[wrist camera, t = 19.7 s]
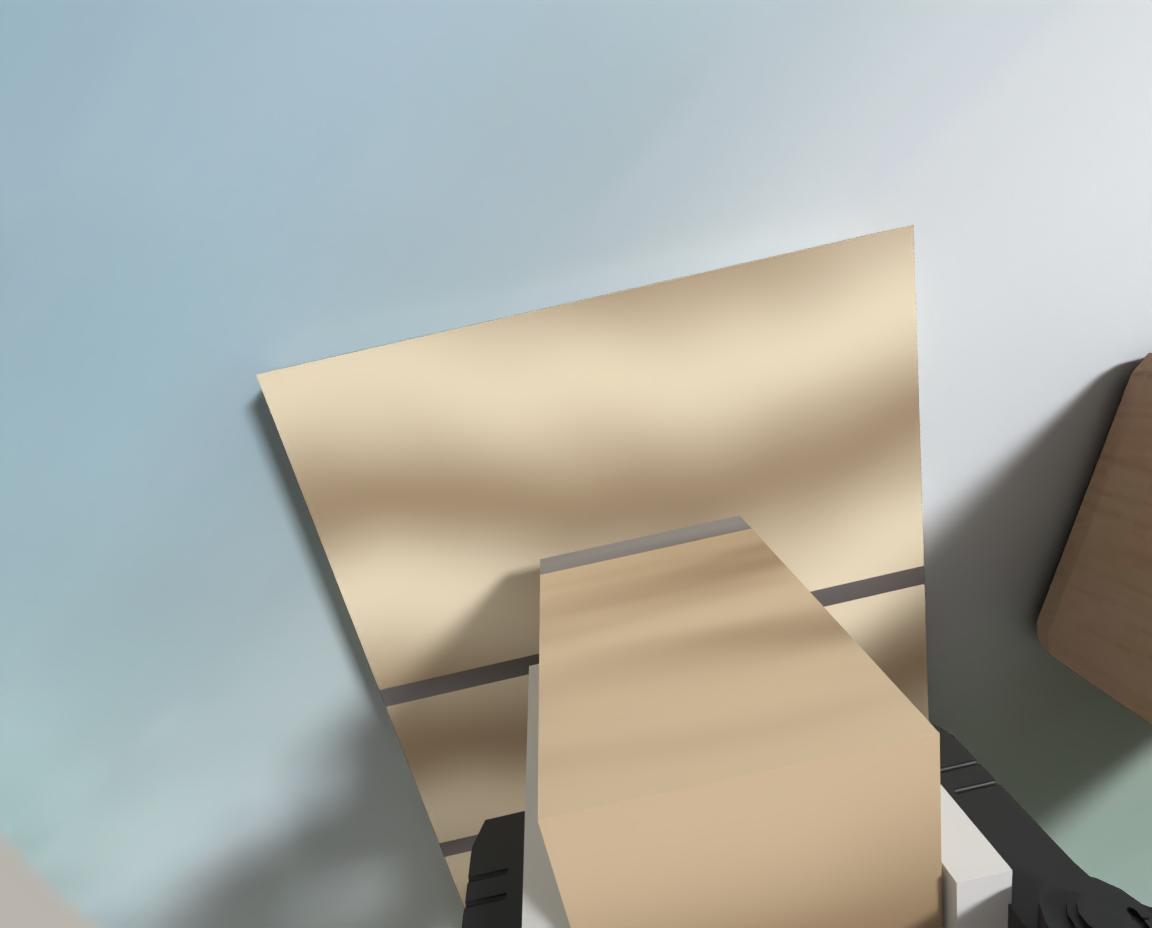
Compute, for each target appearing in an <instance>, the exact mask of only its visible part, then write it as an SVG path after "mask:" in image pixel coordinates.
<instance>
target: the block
mask: <svg viewBox="0 0 1152 928" xmlns="http://www.w3.org/2000/svg"><path fill="white" fill-rule="evenodd" d="M1037 634H1038V641H1039V642H1040V643H1041V645H1042V646H1043V647H1044V649H1045V650H1046V651H1047V652H1048V654H1049V655H1051V656H1052V657H1054V658H1055V659H1057V660H1058V661H1059V662H1061V663H1062V664H1064V665H1065V666H1067V667H1068V668H1070V669H1071V670H1073V671H1074V672H1075V673H1077V674H1078V675H1080V676H1081V677H1083V678H1084V679H1086V680H1087V681H1089V682H1090V683H1091V684H1093V685H1094V686H1096V687H1097V688H1099V689H1100V690H1102V691H1103V692H1105V693H1106V694H1107V695H1109V696H1110V697H1112V698H1113V699H1115V700H1116V701H1118V702H1119V703H1121V704H1122V705H1123V706H1125V707H1126V708H1128V709H1129V710H1131V711H1132V712H1134V713H1135V714H1137V715H1138V716H1139V717H1141V718H1142V719H1144V720H1145V721H1147V722H1148V723H1150V724H1151V725H1152V353H1148V354H1147V356H1146V357H1145V358H1144V359H1143V360H1142V361H1141V363H1140V364H1139V365H1138V366H1137V367H1136V368H1135V370H1134V371H1133V372H1132V373H1131V375H1130V378H1129V381H1128V383H1127V386H1126V389H1125V391H1124V394H1123V396H1122V399H1121V402H1120V404H1119V407H1118V410H1117V412H1116V415H1115V417H1114V420H1113V423H1112V425H1111V428H1110V431H1109V433H1108V436H1107V438H1106V441H1105V444H1104V446H1103V449H1102V452H1101V454H1100V457H1099V459H1098V462H1097V465H1096V467H1095V470H1094V473H1093V475H1092V478H1091V480H1090V483H1089V486H1088V488H1087V491H1086V494H1085V496H1084V499H1083V501H1082V504H1081V507H1080V509H1079V512H1078V515H1077V517H1076V520H1075V522H1074V525H1073V528H1072V530H1071V533H1070V536H1069V538H1068V541H1067V543H1066V546H1065V549H1064V551H1063V554H1062V557H1061V559H1060V562H1059V564H1058V567H1057V570H1056V572H1055V575H1054V578H1053V580H1052V583H1051V585H1050V588H1049V591H1048V593H1047V596H1046V599H1045V601H1044V604H1043V606H1042V609H1041V612H1040V614H1039V617H1038V620H1037Z"/></svg>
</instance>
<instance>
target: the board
mask: <svg viewBox="0 0 1152 928" xmlns="http://www.w3.org/2000/svg"><path fill="white" fill-rule="evenodd" d="M256 376H257V378H258V381H259V383H260V386H261V389H262V391H263V394H264V396H265V399H266V401H267V404H268V406H269V409H270V412H271V414H272V417H273V419H274V422H275V424H276V427H277V430H278V432H279V435H280V437H281V440H282V442H283V445H284V447H285V450H286V453H287V455H288V458H289V460H290V463H291V465H292V468H293V470H294V473H295V476H296V478H297V481H298V483H299V486H300V488H301V491H302V493H303V496H304V499H305V501H306V504H307V506H308V509H309V511H310V514H311V517H312V519H313V522H314V524H315V527H316V529H317V532H318V534H319V537H320V540H321V542H322V545H323V547H324V550H325V552H326V555H327V557H328V560H329V563H330V565H331V568H332V570H333V573H334V575H335V578H336V581H337V583H338V586H339V588H340V591H341V593H342V596H343V598H344V601H345V604H346V606H347V609H348V611H349V614H350V616H351V619H352V621H353V624H354V627H355V629H356V632H357V634H358V637H359V639H360V642H361V645H362V647H363V650H364V652H365V655H366V657H367V660H368V662H369V665H370V668H371V670H372V673H373V675H374V678H375V680H376V683H377V685H378V688H379V691H380V693H381V696H382V698H383V701H384V703H385V706H386V709H387V711H388V714H389V716H390V719H391V721H392V724H393V726H394V729H395V732H396V734H397V737H398V739H399V742H400V744H401V747H402V749H403V752H404V755H405V757H406V760H407V762H408V765H409V767H410V770H411V773H412V775H413V778H414V780H415V783H416V785H417V788H418V790H419V793H420V796H421V798H422V801H423V803H424V806H425V808H426V811H427V813H428V816H429V819H430V821H431V824H432V826H433V829H434V831H435V834H436V837H437V839H438V842H439V844H440V847H441V849H442V852H443V854H444V857H445V860H446V862H447V865H448V867H449V870H450V872H451V875H452V877H453V880H454V883H455V885H456V888H457V890H458V893H459V895H460V898H461V901H462V903H463V906H464V908H465V907H466V905H465V898H466V890H467V883H468V882H469V879H468V874H469V866H470V858H471V850H472V846H473V844H474V842H475V840H476V838H477V836H478V834H479V832H480V830H481V827H482V825H483V823H484V821H485V820H487V819H491V818H496V817H500V816H504V815H509V814H513V813H518V812H522V811H525V795H526V759H527V723H528V686H529V666H531V665H536V664H539V630H540V559H544V558H548V557H553V556H557V555H562V554H566V553H571V552H575V551H580V550H585V549H589V548H594V547H598V546H603V545H607V544H612V543H616V542H621V541H625V540H630V539H635V538H639V537H644V536H648V535H653V534H657V533H662V532H666V531H671V530H676V529H680V528H685V527H689V526H694V525H698V524H703V523H707V522H712V521H716V520H721V519H726V518H730V517H735V516H739V515H740V516H741V517H742V518H743V519H744V520H745V522H746V523H747V524H748V525H749V526H750V527H751V528H752V529H753V530H754V531H755V532H756V534H757V535H758V536H759V537H760V538H761V539H762V540H763V541H764V542H765V543H766V544H767V546H768V547H769V548H770V549H771V550H772V551H773V552H774V553H775V554H776V555H777V556H778V558H779V559H780V560H781V561H782V562H783V563H784V564H785V565H786V566H787V567H788V568H789V570H790V571H791V572H792V573H793V574H794V575H795V576H796V577H797V578H798V579H799V580H800V582H801V583H802V584H803V585H804V586H805V587H806V588H807V589H808V590H809V591H810V592H811V594H812V595H813V596H814V597H815V598H816V599H817V600H818V601H819V602H820V603H821V604H822V606H823V607H824V608H825V609H826V610H827V611H828V612H829V613H830V614H831V615H832V616H833V618H834V619H835V620H836V621H837V622H838V623H839V624H840V625H841V626H842V627H843V628H844V630H845V631H846V632H847V633H848V634H849V635H850V636H851V637H852V638H853V639H854V640H855V642H856V643H857V644H858V645H859V646H860V647H861V648H862V649H863V650H864V651H865V652H866V654H867V655H868V656H869V657H870V658H871V659H872V660H873V661H874V662H875V663H876V664H877V666H878V667H879V668H880V669H881V670H882V671H883V672H884V673H885V674H886V675H887V676H888V678H889V679H890V680H891V681H892V682H893V683H894V684H895V685H896V686H897V687H898V688H899V689H900V691H901V692H902V693H903V694H904V695H905V696H906V697H907V698H908V699H909V700H910V701H911V703H912V704H913V705H914V706H915V707H916V708H917V709H918V710H919V711H920V712H921V713H922V715H923V716H924V717H925V718H926V719H927V720H928V721H929V710H928V678H927V646H926V614H925V581H924V549H923V517H922V485H921V452H920V420H919V388H918V356H917V324H916V291H915V259H914V227H913V225H911V226H907V227H902V228H897V229H892V230H888V231H883V232H878V233H874V234H870V235H865V236H861V237H856V238H852V239H848V240H843V241H839V242H835V243H830V244H826V245H821V246H817V247H813V248H808V249H804V250H799V251H795V252H791V253H786V254H782V255H778V256H773V257H769V258H764V259H760V260H756V261H751V262H747V263H742V264H738V265H734V266H729V267H725V268H720V269H716V270H712V271H707V272H703V273H699V274H694V275H690V276H685V277H681V278H677V279H672V280H668V281H663V282H659V283H655V284H650V285H646V286H642V287H637V288H633V289H628V290H624V291H620V292H615V293H611V294H606V295H602V296H598V297H593V298H589V299H584V300H580V301H576V302H571V303H567V304H563V305H558V306H554V307H549V308H545V309H541V310H536V311H532V312H527V313H523V314H519V315H514V316H510V317H505V318H501V319H497V320H492V321H488V322H484V323H479V324H475V325H470V326H466V327H462V328H457V329H453V330H448V331H444V332H440V333H435V334H431V335H427V336H422V337H418V338H413V339H409V340H405V341H400V342H396V343H391V344H387V345H383V346H378V347H374V348H369V349H365V350H361V351H356V352H352V353H348V354H343V355H339V356H334V357H330V358H326V359H321V360H317V361H312V362H308V363H304V364H299V365H295V366H291V367H286V368H282V369H278V370H274V371H270V372H266V373H262V374H258V375H256Z"/></svg>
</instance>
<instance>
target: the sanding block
mask: <svg viewBox="0 0 1152 928" xmlns="http://www.w3.org/2000/svg"><path fill="white" fill-rule="evenodd" d="M538 824H539V827H540V830H541V833H542V836H543V840H544V843H545V846H546V849H547V853H548V856H549V859H550V862H551V866H552V869H553V872H554V875H555V879H556V882H557V885H558V888H559V892H560V895H561V898H562V901H563V905H564V908H565V911H566V914H567V918H568V921H569V924H570V927H571V928H942V863H941V792H940V733H939V732H938V731H937V730H936V729H935V728H934V727H933V725H932V724H931V723H930V722H929V721H928V720H927V719H926V718H925V717H924V716H923V715H922V713H921V712H920V711H919V710H918V709H917V708H916V707H915V706H914V705H913V704H912V703H911V701H910V700H909V699H908V698H907V697H906V696H905V695H904V694H903V693H902V692H901V691H900V689H899V688H898V687H897V686H896V685H895V684H894V683H893V682H892V681H891V680H890V679H889V678H888V676H887V675H886V674H885V673H884V672H883V671H882V670H881V669H880V668H879V667H878V666H877V664H876V663H875V662H874V661H873V660H872V659H871V658H870V657H869V656H868V655H867V654H866V652H865V651H864V650H863V649H862V648H861V647H860V646H859V645H858V644H857V643H856V642H855V640H854V639H853V638H852V637H851V636H850V635H849V634H848V633H847V632H846V631H845V630H844V628H843V627H842V626H841V625H840V624H839V623H838V622H837V621H836V620H835V619H834V618H833V616H832V615H831V614H830V613H829V612H828V611H827V610H826V609H825V608H824V607H823V606H822V604H821V603H820V602H819V601H818V600H817V599H816V598H815V597H814V596H813V595H812V594H811V592H810V591H809V590H808V589H807V588H806V587H805V586H804V585H803V584H802V583H801V582H800V580H799V579H798V578H797V577H796V576H795V575H794V574H793V573H792V572H791V571H790V570H789V568H788V567H787V566H786V565H785V564H784V563H783V562H782V561H781V560H780V559H779V558H778V556H777V555H776V554H775V553H774V552H773V551H772V550H771V549H770V548H769V547H768V546H767V544H766V543H765V542H764V541H763V540H762V539H761V538H760V537H759V536H758V535H757V534H756V532H755V531H754V530H753V529H752V528H751V527H750V526H749V525H748V524H747V523H746V522H745V520H744V519H743V518H742V517H741V516H740V515H739V516H735V517H730V518H726V519H721V520H716V521H712V522H707V523H703V524H698V525H694V526H689V527H685V528H680V529H676V530H671V531H666V532H662V533H657V534H653V535H648V536H644V537H639V538H635V539H630V540H625V541H621V542H616V543H612V544H607V545H603V546H598V547H594V548H589V549H585V550H580V551H575V552H571V553H566V554H562V555H557V556H553V557H548V558H544V559H540V630H539V732H538Z"/></svg>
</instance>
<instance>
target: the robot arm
mask: <svg viewBox="0 0 1152 928" xmlns="http://www.w3.org/2000/svg"><path fill="white" fill-rule="evenodd" d="M930 723H931V722H930ZM931 724H932V723H931ZM932 725H933V727H934V728H935V729H936V730H937V731H938V732H939V733H940V792H941V863H942V928H1152V907H1148V906H1145V905H1143V904H1141V903H1140V902H1138V901H1137V900H1135V899H1134V898H1132V897H1131V896H1130V895H1128V894H1127V893H1125V892H1124V891H1123V890H1121V889H1119V888H1117V887H1115V886H1112V885H1110V884H1108V883H1106V882H1103V881H1101V880H1099V879H1097V878H1094V877H1090V876H1089V875H1087V874H1086V873H1085V872H1084V871H1083V870H1082V869H1081V868H1080V867H1079V866H1077V865H1076V864H1075V863H1074V862H1073V861H1072V860H1071V859H1070V858H1069V857H1068V856H1067V855H1066V854H1065V852H1064V851H1063V850H1062V849H1061V848H1060V847H1059V846H1058V845H1057V844H1056V843H1055V842H1054V841H1053V840H1052V839H1051V838H1050V837H1049V836H1048V835H1047V834H1046V833H1045V832H1044V831H1043V829H1042V828H1041V827H1040V826H1039V825H1038V824H1037V823H1036V822H1035V821H1034V820H1033V819H1032V818H1031V817H1030V816H1029V815H1028V814H1027V813H1026V812H1025V811H1024V810H1023V809H1022V808H1021V806H1020V805H1019V804H1018V803H1017V802H1016V801H1015V800H1014V799H1013V798H1012V797H1011V796H1010V795H1009V794H1008V793H1007V792H1006V791H1005V790H1004V789H1003V788H1002V787H1001V786H1000V785H997V784H996V782H995V779H994V778H993V777H992V776H991V775H990V774H989V773H988V772H987V771H986V770H985V769H984V768H983V767H982V766H981V765H980V764H979V765H978V764H977V762H976V759H975V758H974V757H973V756H972V755H971V754H970V753H969V752H968V751H967V750H966V749H965V748H964V747H963V746H962V745H961V744H960V743H959V742H958V741H957V740H956V738H955V737H954V736H952V735H951V734H949V733H947V732H946V731H944V730H942V729H941V728H939V727H937V726H936V725H934V724H932ZM538 732H539V664H536V665H531V666H529V686H528V723H527V759H526V795H525V811H522V812H518V813H513V814H509V815H504V816H500V817H496V818H491V819H487V820H485V821H484V823H483V825H482V827H481V830H480V832H479V834H478V836H477V838H476V840H475V842H474V844H473V846H472V850H471V858H470V866H469V874H468V879H469V882H468V883H467V890H466V898H465V905H466V907H465V909H464V915H463V923H462V928H571V927H570V924H569V921H568V918H567V914H566V911H565V908H564V905H563V901H562V898H561V895H560V892H559V888H558V885H557V882H556V879H555V875H554V872H553V869H552V866H551V862H550V859H549V856H548V853H547V849H546V846H545V843H544V840H543V836H542V833H541V830H540V827H539V824H538Z"/></svg>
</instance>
